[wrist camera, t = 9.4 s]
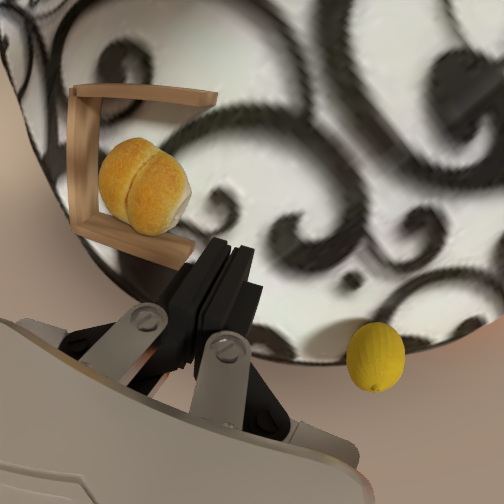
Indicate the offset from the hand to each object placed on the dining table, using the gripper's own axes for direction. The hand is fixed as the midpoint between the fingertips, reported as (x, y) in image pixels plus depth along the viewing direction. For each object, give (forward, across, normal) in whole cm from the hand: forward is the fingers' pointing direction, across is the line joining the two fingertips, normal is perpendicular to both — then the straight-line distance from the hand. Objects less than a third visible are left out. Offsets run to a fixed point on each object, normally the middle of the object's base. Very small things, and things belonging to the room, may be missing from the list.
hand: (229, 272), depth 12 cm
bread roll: (+13, +11, +4) cm, 18 cm away
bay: (+13, +12, +2) cm, 18 cm away
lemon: (+13, -13, +12) cm, 22 cm away
